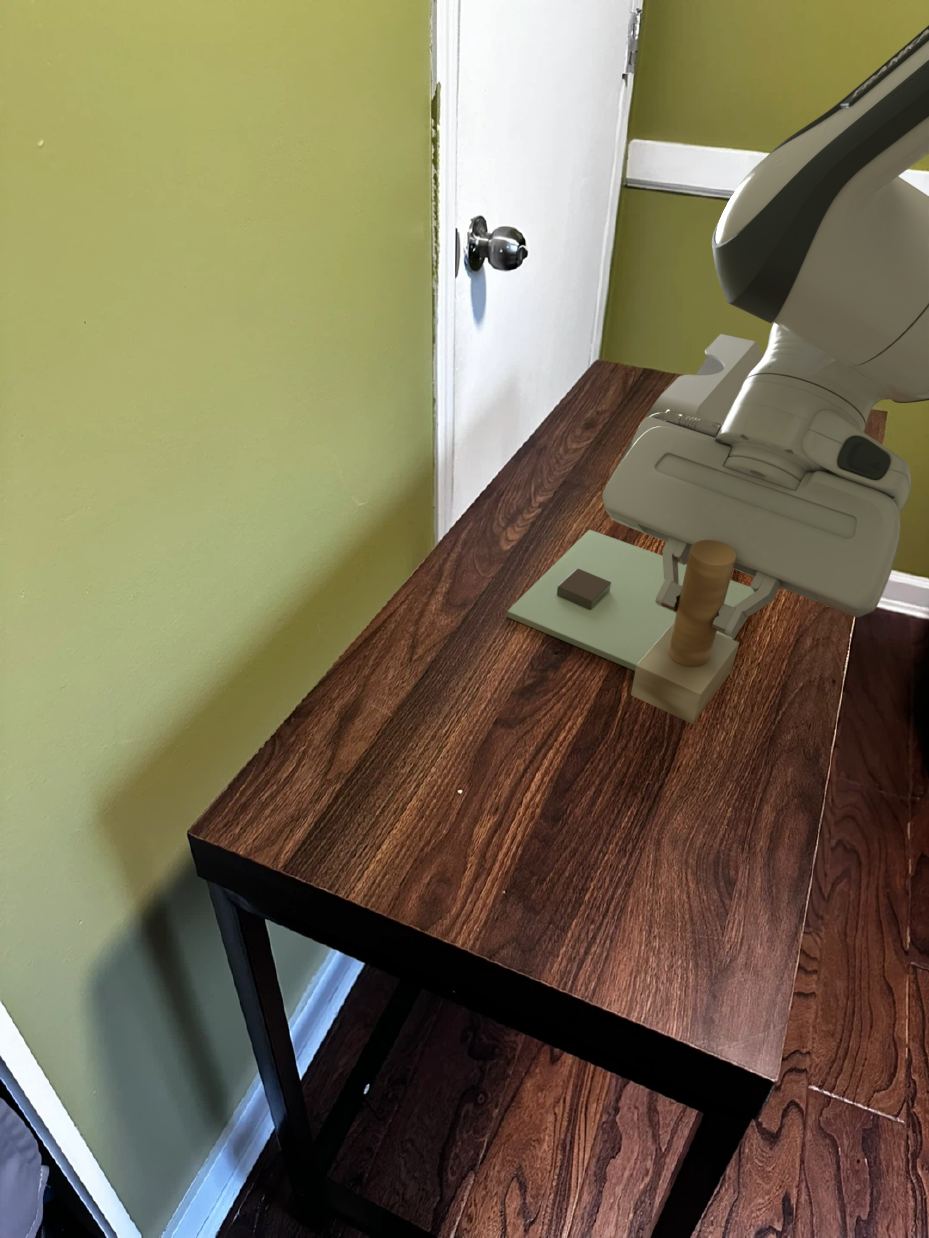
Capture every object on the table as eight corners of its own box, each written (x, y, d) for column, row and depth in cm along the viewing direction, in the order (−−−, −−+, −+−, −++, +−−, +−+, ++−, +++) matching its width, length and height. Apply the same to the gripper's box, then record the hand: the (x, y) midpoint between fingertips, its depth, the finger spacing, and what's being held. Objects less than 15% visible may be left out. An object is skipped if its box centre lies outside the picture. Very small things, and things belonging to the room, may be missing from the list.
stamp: (731, 672, 66) (768, 541, 58) (692, 724, 61) (728, 590, 54) (671, 646, 68) (700, 517, 60) (630, 695, 64) (655, 562, 56)
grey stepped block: (731, 523, 100) (757, 425, 92) (604, 485, 106) (618, 389, 98) (785, 439, 117) (812, 350, 109) (673, 410, 123) (690, 323, 115)
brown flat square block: (610, 591, 88) (611, 581, 87) (590, 610, 85) (592, 601, 84) (576, 577, 89) (577, 567, 89) (556, 595, 87) (557, 585, 86)
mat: (761, 597, 89) (763, 591, 88) (697, 697, 77) (698, 691, 76) (588, 535, 97) (589, 529, 96) (506, 617, 85) (506, 610, 85)
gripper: (641, 384, 62) (555, 554, 62) (936, 474, 52) (833, 675, 53) (661, 420, 68) (582, 576, 68) (930, 507, 58) (838, 689, 58)
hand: (694, 620), depth 60 cm, fingers closed on stamp, 3 cm apart
